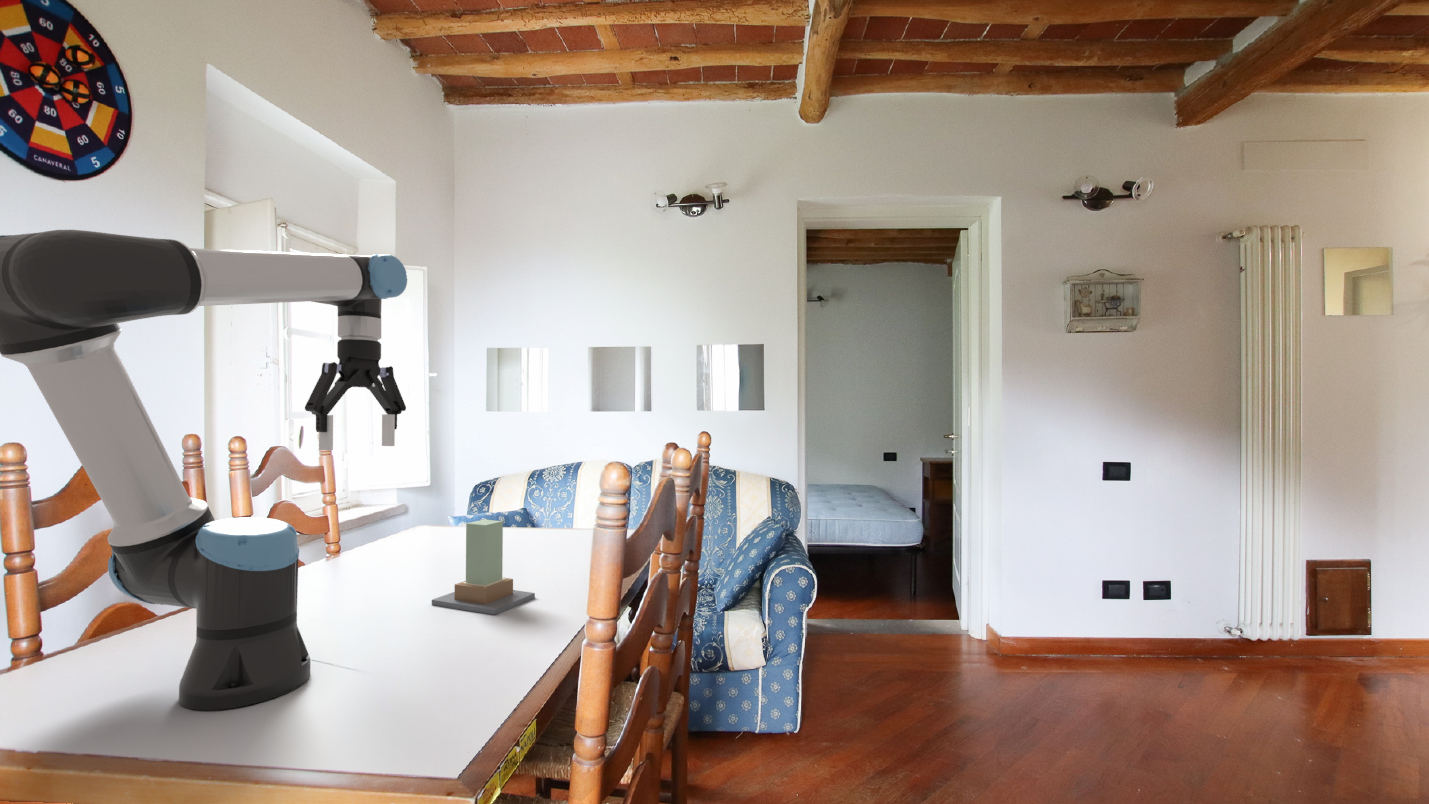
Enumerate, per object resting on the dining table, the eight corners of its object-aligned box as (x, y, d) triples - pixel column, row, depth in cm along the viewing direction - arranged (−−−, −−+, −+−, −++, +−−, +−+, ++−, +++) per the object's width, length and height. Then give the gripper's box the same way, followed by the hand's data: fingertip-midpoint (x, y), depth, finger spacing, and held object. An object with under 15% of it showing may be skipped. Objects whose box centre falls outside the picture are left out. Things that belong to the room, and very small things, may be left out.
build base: (494, 614, 122) (494, 593, 122) (431, 604, 128) (431, 583, 128) (534, 597, 133) (534, 577, 133) (475, 589, 139) (475, 569, 139)
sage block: (485, 585, 127) (485, 525, 127) (465, 582, 129) (466, 523, 129) (502, 578, 132) (502, 521, 132) (483, 576, 134) (483, 519, 134)
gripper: (398, 346, 138) (397, 443, 138) (283, 333, 115) (281, 451, 115) (424, 345, 135) (423, 444, 135) (311, 332, 112) (310, 452, 112)
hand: (358, 448), depth 125 cm, fingers open, 13 cm apart
